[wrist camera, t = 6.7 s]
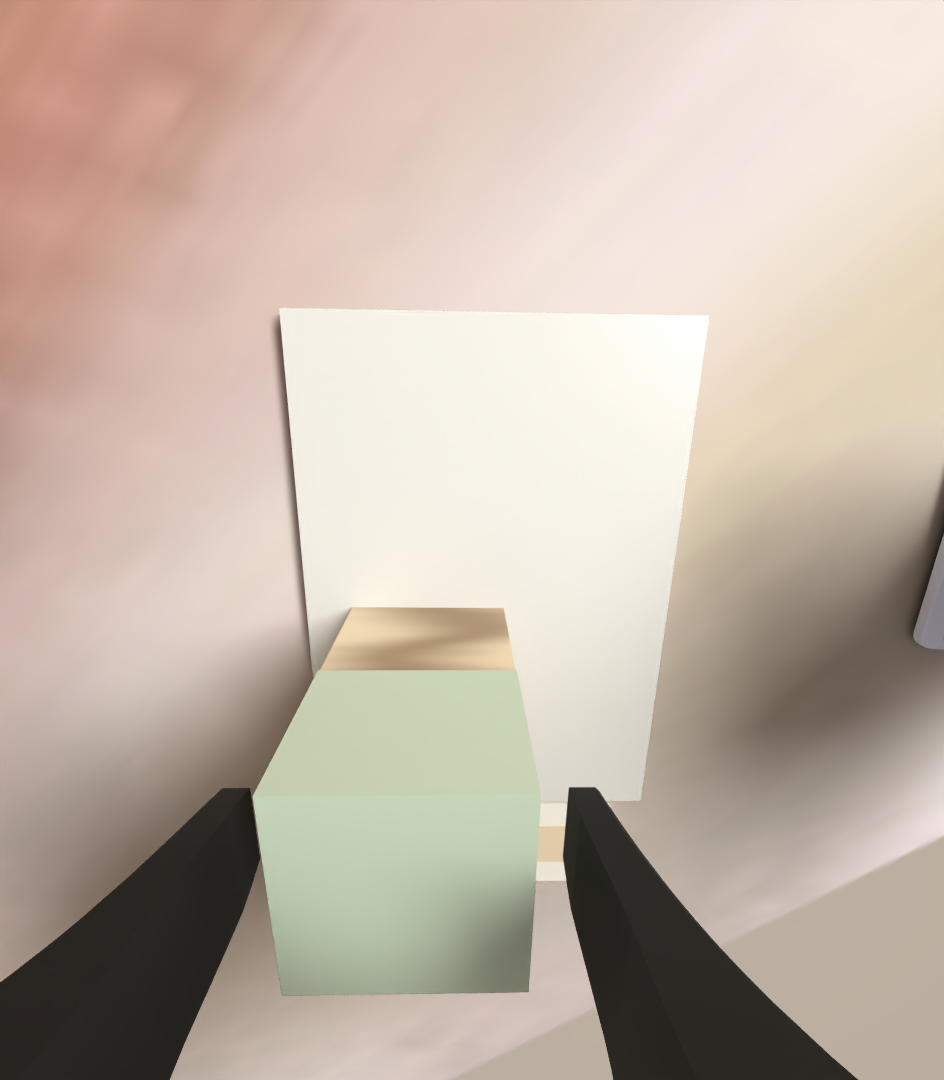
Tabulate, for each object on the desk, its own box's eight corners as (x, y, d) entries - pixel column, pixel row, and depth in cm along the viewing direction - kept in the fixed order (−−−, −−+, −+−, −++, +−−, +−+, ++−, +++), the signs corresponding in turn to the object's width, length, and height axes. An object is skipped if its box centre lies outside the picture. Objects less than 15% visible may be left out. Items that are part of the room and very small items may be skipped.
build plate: (699, 318, 14) (709, 316, 14) (635, 788, 19) (640, 800, 19) (286, 311, 14) (279, 307, 14) (328, 789, 19) (324, 802, 18)
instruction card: (608, 798, 19) (610, 804, 19) (599, 875, 21) (601, 881, 20) (457, 799, 19) (457, 805, 19) (456, 876, 20) (456, 882, 20)
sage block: (516, 670, 12) (541, 794, 9) (510, 826, 14) (528, 992, 10) (318, 670, 12) (252, 796, 8) (332, 827, 14) (281, 995, 10)
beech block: (503, 608, 16) (516, 674, 12) (499, 734, 18) (509, 829, 14) (352, 607, 16) (318, 674, 12) (360, 734, 18) (331, 830, 14)
